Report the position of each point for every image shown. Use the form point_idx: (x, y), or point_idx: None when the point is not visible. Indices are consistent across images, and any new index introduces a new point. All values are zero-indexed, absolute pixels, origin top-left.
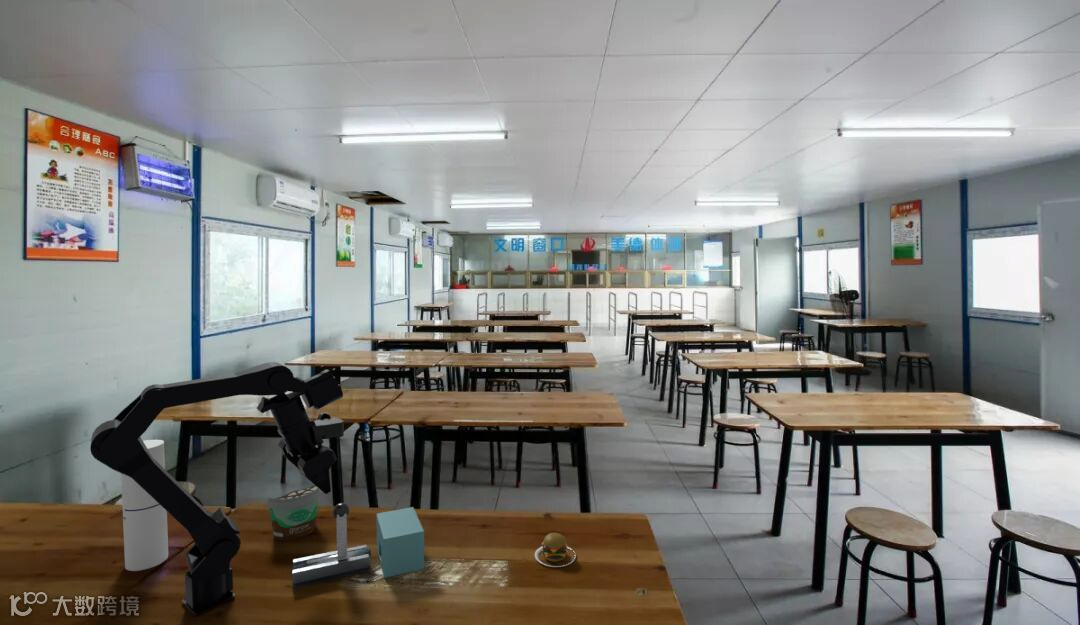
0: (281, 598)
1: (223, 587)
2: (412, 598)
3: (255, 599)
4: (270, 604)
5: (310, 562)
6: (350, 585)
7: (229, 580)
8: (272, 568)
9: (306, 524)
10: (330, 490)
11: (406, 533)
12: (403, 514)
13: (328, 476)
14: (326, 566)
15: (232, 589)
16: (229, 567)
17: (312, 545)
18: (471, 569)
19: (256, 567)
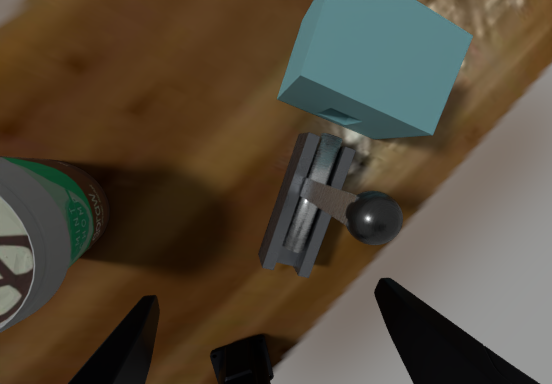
0: (310, 280)
1: (261, 364)
2: (444, 132)
3: (286, 310)
4: (313, 294)
5: (301, 247)
6: (352, 190)
7: (253, 360)
8: (210, 278)
9: (91, 201)
10: (393, 281)
11: (451, 77)
12: (362, 14)
13: (499, 362)
14: (327, 224)
15: (248, 341)
16: (256, 382)
17: (168, 198)
18: (459, 6)
19: (186, 299)
